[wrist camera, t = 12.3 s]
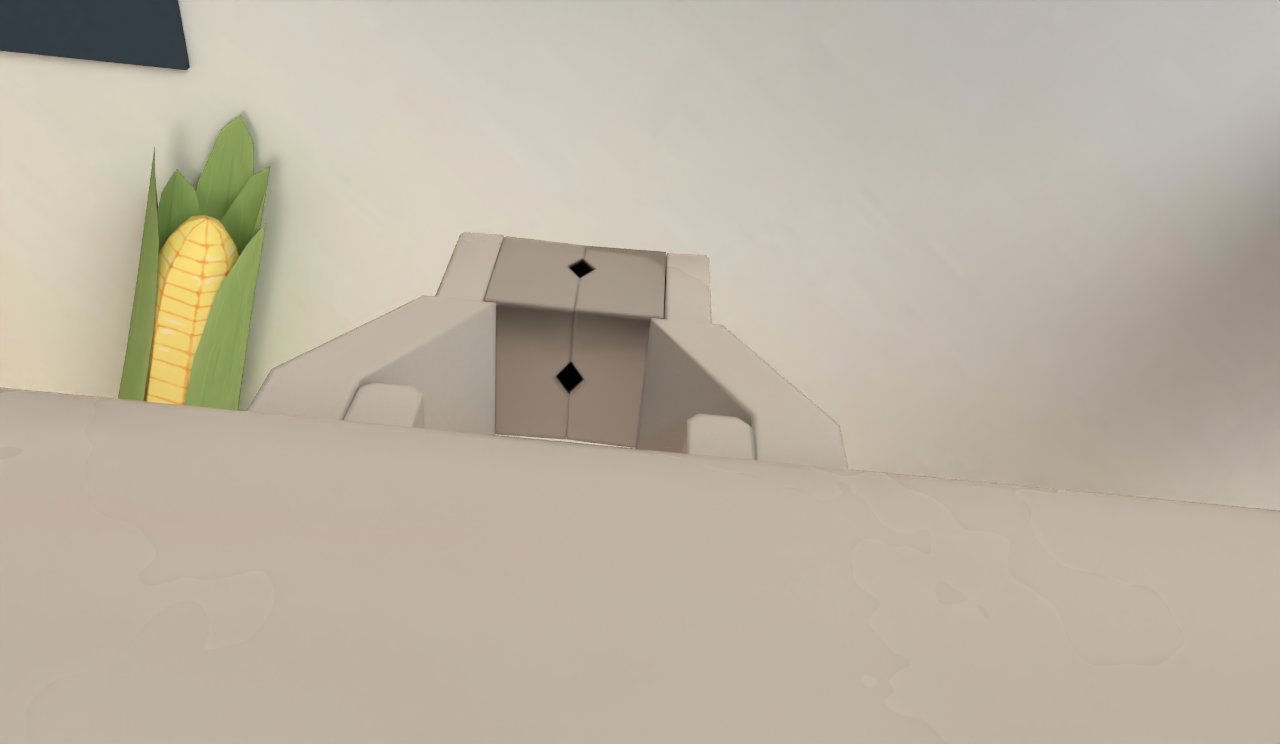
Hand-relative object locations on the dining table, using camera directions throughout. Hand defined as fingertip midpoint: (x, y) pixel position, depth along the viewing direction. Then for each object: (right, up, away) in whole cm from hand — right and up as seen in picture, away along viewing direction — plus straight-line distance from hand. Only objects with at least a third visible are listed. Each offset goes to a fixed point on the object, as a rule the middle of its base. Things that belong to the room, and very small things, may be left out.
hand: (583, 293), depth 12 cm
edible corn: (-18, +1, +30) cm, 35 cm away
